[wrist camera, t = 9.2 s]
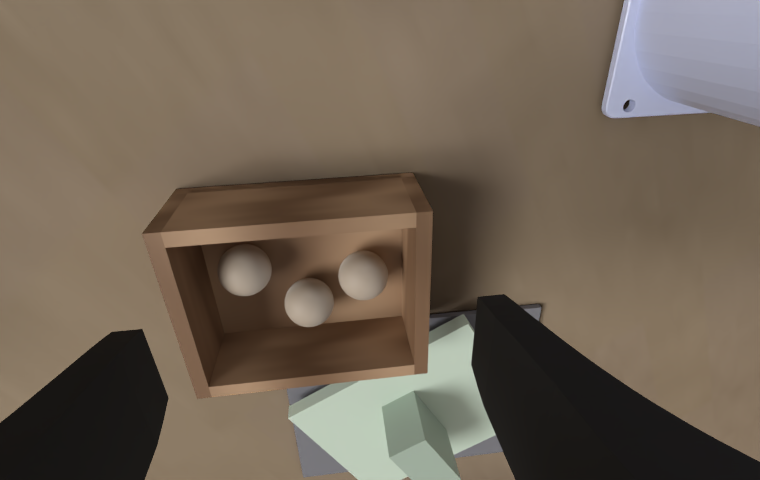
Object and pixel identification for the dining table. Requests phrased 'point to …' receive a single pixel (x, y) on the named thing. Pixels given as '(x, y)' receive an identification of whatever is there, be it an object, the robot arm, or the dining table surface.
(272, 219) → the box
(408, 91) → the dining table surface
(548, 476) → the robot arm
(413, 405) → the lid
